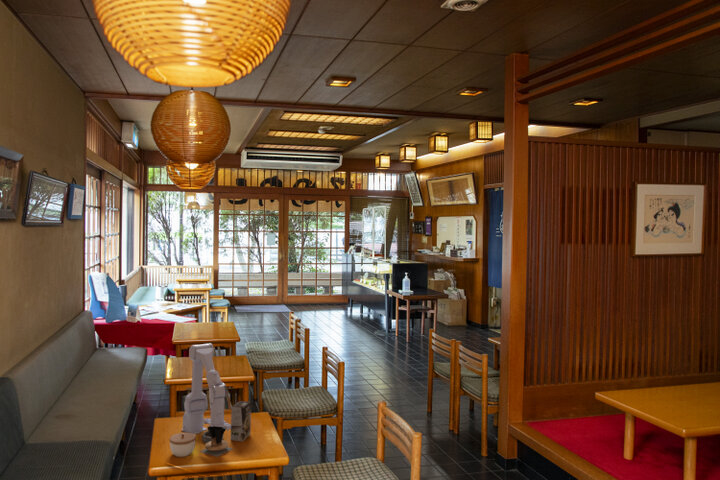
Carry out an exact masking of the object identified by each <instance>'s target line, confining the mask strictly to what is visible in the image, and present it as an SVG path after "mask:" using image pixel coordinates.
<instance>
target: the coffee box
mask: <svg viewBox="0 0 720 480" xmlns="http://www.w3.org/2000/svg"><path fill="white" fill-rule="evenodd" d="M230 417H231V419H230V425H231V429H230V441H235V442H236V441H237V442H244V441H245V440H246V439H247V438H248V437H250V436H251V431H252V430H251V427H252V426H251V425H252V424H251V423H252V402H251V401H245V400H244V401H243V400H242V401H241V400H239V401H237V402H236V403H234V404H233V405H232V406H231V415H230Z"/></svg>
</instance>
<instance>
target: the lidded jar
mask: <svg viewBox="0 0 720 480" xmlns="http://www.w3.org/2000/svg"><path fill="white" fill-rule="evenodd" d="M196 438H197V437H196V434H192V433H188V432H180V433H179V432H178V433H174V434H173V435H171V436H170V437H169V447H170V448H169V449H170V451H171V453H172V454H173V455H174V456H175V457H177V458H183V457H187V456H189V455H190V454H192V452H193V451H194V449H195V446H196Z"/></svg>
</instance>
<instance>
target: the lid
mask: <svg viewBox="0 0 720 480" xmlns="http://www.w3.org/2000/svg"><path fill="white" fill-rule="evenodd" d="M227 447H229V442H228V441H227V440H221V443H219V444H217V443H216V437H214V438H212V439H211V441H210V442H207V443H205V444H204V449H208V450H212V451H217V450H222V449H225V448H227Z"/></svg>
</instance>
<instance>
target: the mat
mask: <svg viewBox="0 0 720 480" xmlns="http://www.w3.org/2000/svg"><path fill="white" fill-rule="evenodd" d="M233 449H234V448H232V447H229V446H228V447H227V448H225V449H222V450H217V451H212V450H208V449H206V448H204V449H203V450H200V451H199V452H200V453H203V454H207V455H211V456H213V457H216V458H218V457H220V456H222V455H224V454H225V453H227V452H229V451H231V450H233Z"/></svg>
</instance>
